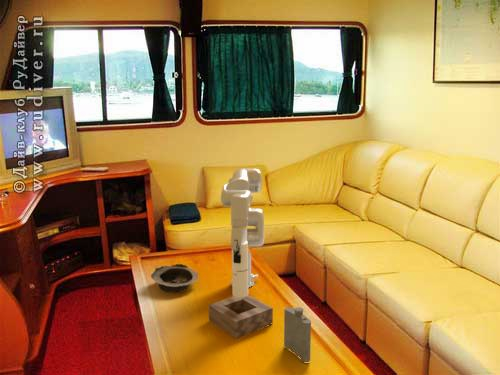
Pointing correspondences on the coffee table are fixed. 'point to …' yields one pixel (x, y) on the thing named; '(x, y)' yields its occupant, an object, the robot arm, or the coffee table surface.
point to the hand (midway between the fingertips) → (239, 259)
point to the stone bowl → (174, 277)
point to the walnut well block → (240, 315)
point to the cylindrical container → (240, 273)
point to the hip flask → (297, 332)
